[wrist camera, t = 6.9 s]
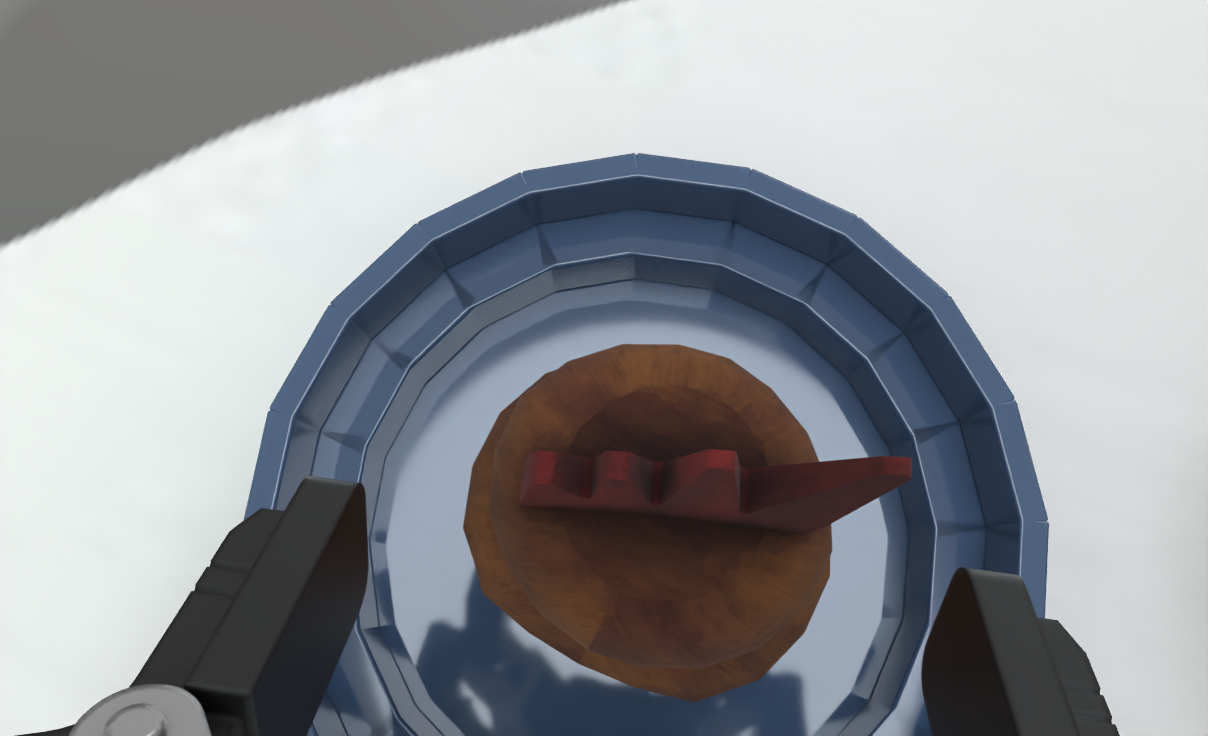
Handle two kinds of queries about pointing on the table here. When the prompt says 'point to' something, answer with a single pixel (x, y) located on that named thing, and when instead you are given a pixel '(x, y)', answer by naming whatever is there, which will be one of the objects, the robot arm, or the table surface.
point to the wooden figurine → (661, 517)
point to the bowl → (648, 316)
